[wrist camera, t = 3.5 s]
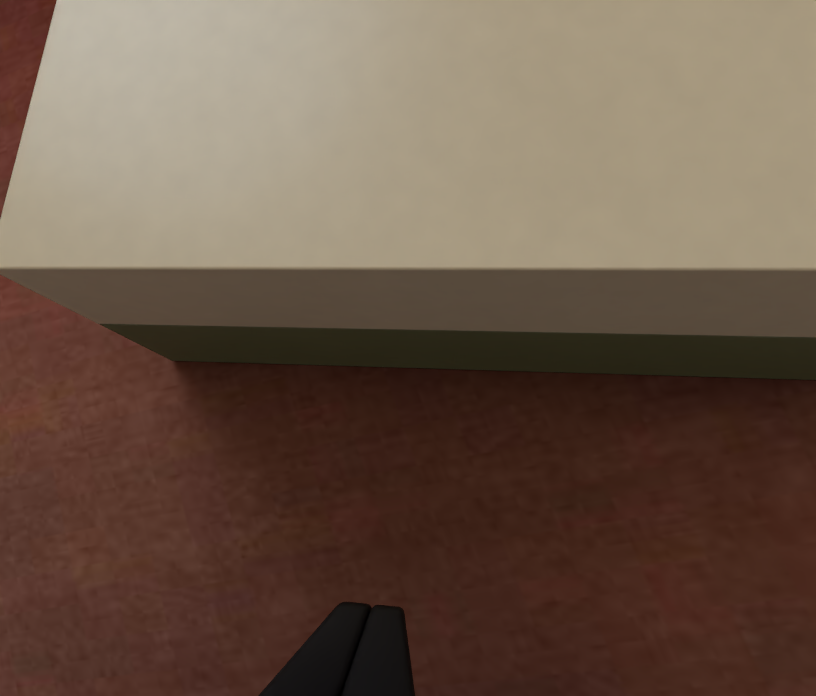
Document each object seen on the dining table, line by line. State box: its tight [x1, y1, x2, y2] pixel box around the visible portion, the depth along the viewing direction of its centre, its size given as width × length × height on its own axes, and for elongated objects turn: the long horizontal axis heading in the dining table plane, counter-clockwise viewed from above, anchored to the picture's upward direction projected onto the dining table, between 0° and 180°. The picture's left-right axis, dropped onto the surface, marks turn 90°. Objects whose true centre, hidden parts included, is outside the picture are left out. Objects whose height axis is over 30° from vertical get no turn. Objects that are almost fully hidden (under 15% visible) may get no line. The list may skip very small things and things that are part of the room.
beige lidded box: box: [0, 0, 816, 380], centre depth 19 cm, size 16×20×8 cm
